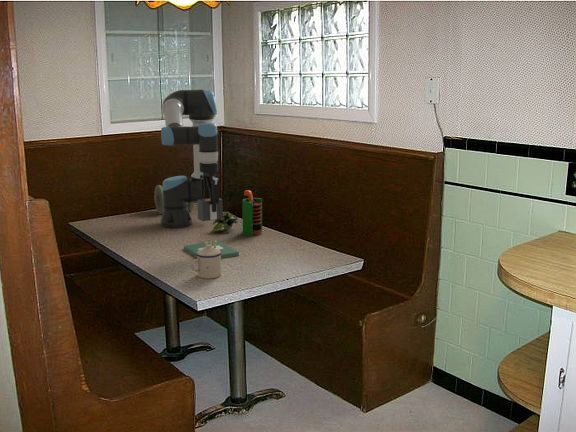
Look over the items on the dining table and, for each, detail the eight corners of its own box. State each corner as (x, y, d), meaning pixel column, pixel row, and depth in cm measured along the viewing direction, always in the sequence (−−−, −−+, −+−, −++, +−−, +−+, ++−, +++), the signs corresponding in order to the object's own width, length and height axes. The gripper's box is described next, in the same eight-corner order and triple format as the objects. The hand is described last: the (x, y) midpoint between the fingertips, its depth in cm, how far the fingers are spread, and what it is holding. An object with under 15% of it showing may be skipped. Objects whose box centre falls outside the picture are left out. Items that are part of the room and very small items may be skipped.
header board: (183, 249, 272) (183, 239, 270) (218, 243, 279) (217, 233, 278) (202, 261, 255) (202, 250, 254) (238, 255, 263) (238, 244, 262)
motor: (259, 236, 291) (258, 193, 286) (240, 235, 293) (239, 192, 288) (264, 230, 301) (263, 189, 296) (245, 230, 302) (245, 188, 298)
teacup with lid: (214, 269, 245) (213, 240, 242) (226, 276, 237) (225, 245, 235) (185, 275, 238) (184, 245, 235) (197, 282, 231) (196, 251, 228)
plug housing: (198, 218, 264) (197, 199, 262) (217, 216, 268) (217, 196, 266) (202, 221, 260) (202, 201, 258) (223, 218, 264) (222, 199, 262)
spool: (164, 216, 329) (162, 188, 326) (155, 211, 342) (153, 183, 338) (194, 213, 337) (193, 185, 333) (184, 207, 350) (183, 180, 346)
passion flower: (225, 240, 305) (237, 218, 307) (233, 242, 295) (245, 219, 297) (205, 229, 300) (217, 207, 303) (212, 230, 291) (225, 207, 293)
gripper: (227, 164, 253) (228, 221, 258) (208, 158, 268) (209, 212, 273) (209, 165, 249) (211, 223, 254) (191, 159, 264) (193, 214, 269)
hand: (210, 217), depth 264 cm, fingers closed on plug housing, 5 cm apart
